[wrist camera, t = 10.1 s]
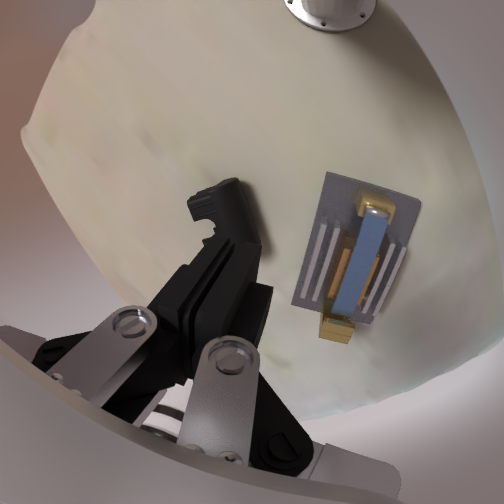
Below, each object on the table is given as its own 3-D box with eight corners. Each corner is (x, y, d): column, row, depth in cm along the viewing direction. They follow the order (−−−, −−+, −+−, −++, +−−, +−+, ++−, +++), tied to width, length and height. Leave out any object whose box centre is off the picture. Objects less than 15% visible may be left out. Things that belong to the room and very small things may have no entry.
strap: (366, 204, 33) (368, 207, 32) (389, 211, 32) (391, 214, 32) (331, 309, 40) (331, 313, 39) (350, 313, 40) (350, 318, 39)
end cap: (266, 234, 45) (255, 255, 39) (224, 244, 47) (209, 264, 41) (244, 172, 41) (229, 183, 35) (202, 186, 44) (182, 199, 38)
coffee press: (210, 312, 55) (134, 446, 29) (260, 365, 58) (215, 495, 32) (159, 337, 62) (89, 440, 37) (204, 382, 66) (154, 484, 40)
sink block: (326, 171, 38) (326, 187, 30) (418, 199, 36) (439, 222, 28) (292, 299, 49) (283, 336, 41) (369, 318, 47) (373, 356, 39)
